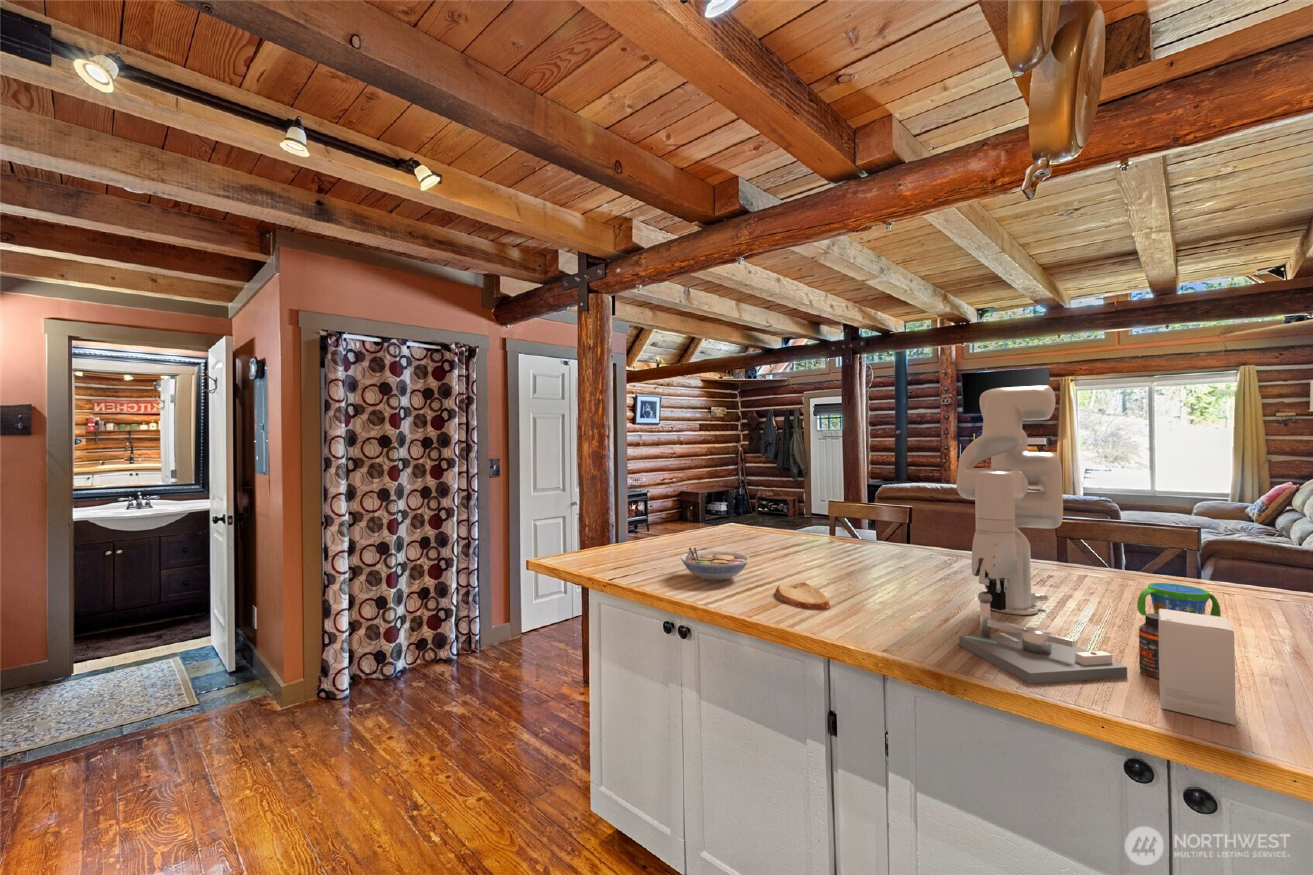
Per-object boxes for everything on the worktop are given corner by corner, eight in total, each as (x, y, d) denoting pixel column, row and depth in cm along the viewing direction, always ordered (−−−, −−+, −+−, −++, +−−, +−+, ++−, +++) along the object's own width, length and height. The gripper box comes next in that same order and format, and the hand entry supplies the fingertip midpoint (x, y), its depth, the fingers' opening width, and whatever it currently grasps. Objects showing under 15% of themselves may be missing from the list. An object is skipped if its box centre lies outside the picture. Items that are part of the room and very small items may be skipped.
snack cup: (1205, 627, 132) (1204, 584, 132) (1236, 642, 122) (1235, 596, 122) (1126, 621, 137) (1125, 580, 137) (1150, 635, 127) (1149, 591, 127)
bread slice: (828, 613, 147) (828, 599, 147) (763, 604, 156) (763, 591, 156) (842, 596, 163) (841, 583, 163) (782, 589, 172) (782, 577, 172)
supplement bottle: (1131, 669, 108) (1129, 611, 108) (1158, 668, 109) (1157, 610, 109) (1161, 683, 102) (1160, 621, 102) (1190, 681, 103) (1189, 620, 103)
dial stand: (1041, 640, 124) (1041, 623, 124) (1127, 677, 104) (1126, 656, 105) (959, 645, 122) (958, 627, 122) (1030, 684, 102) (1030, 662, 102)
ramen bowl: (755, 588, 171) (755, 562, 171) (682, 589, 172) (681, 562, 172) (744, 570, 196) (743, 547, 196) (679, 570, 197) (679, 547, 197)
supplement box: (1238, 727, 86) (1235, 630, 86) (1160, 709, 92) (1158, 619, 92) (1231, 706, 93) (1229, 617, 93) (1159, 690, 99) (1157, 607, 99)
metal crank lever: (1079, 656, 109) (1078, 607, 109) (1068, 661, 106) (1067, 611, 107) (985, 631, 124) (984, 588, 124) (973, 635, 122) (972, 591, 122)
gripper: (998, 521, 130) (999, 599, 130) (957, 526, 123) (959, 609, 123) (1032, 525, 124) (1033, 608, 123) (991, 531, 117) (992, 618, 116)
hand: (996, 608), depth 123 cm, fingers closed
